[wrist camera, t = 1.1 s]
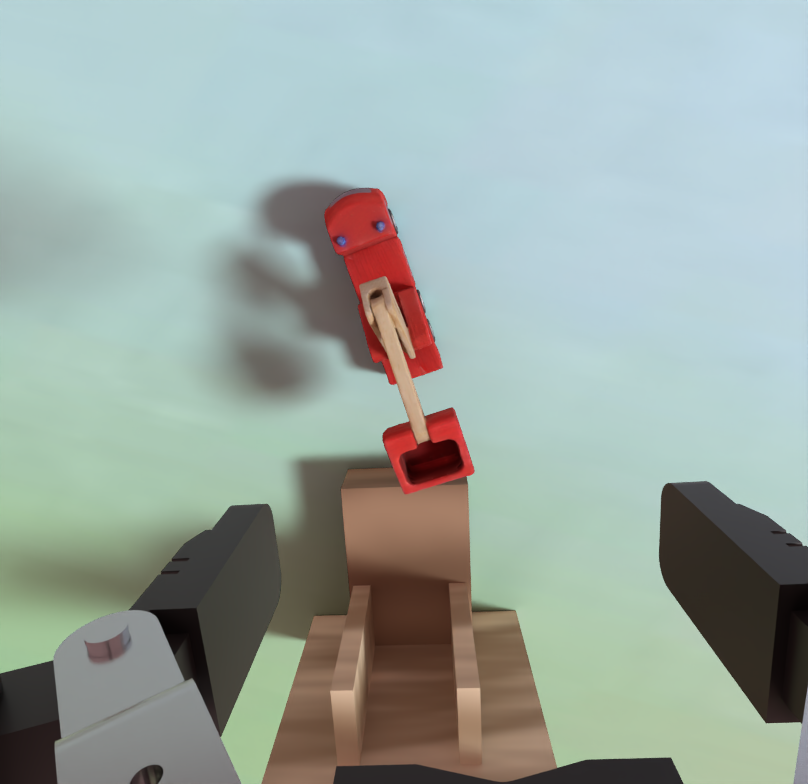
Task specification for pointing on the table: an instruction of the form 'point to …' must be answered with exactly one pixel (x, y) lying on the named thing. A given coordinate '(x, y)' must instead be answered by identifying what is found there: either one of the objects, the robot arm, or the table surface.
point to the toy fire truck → (397, 337)
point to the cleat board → (410, 653)
